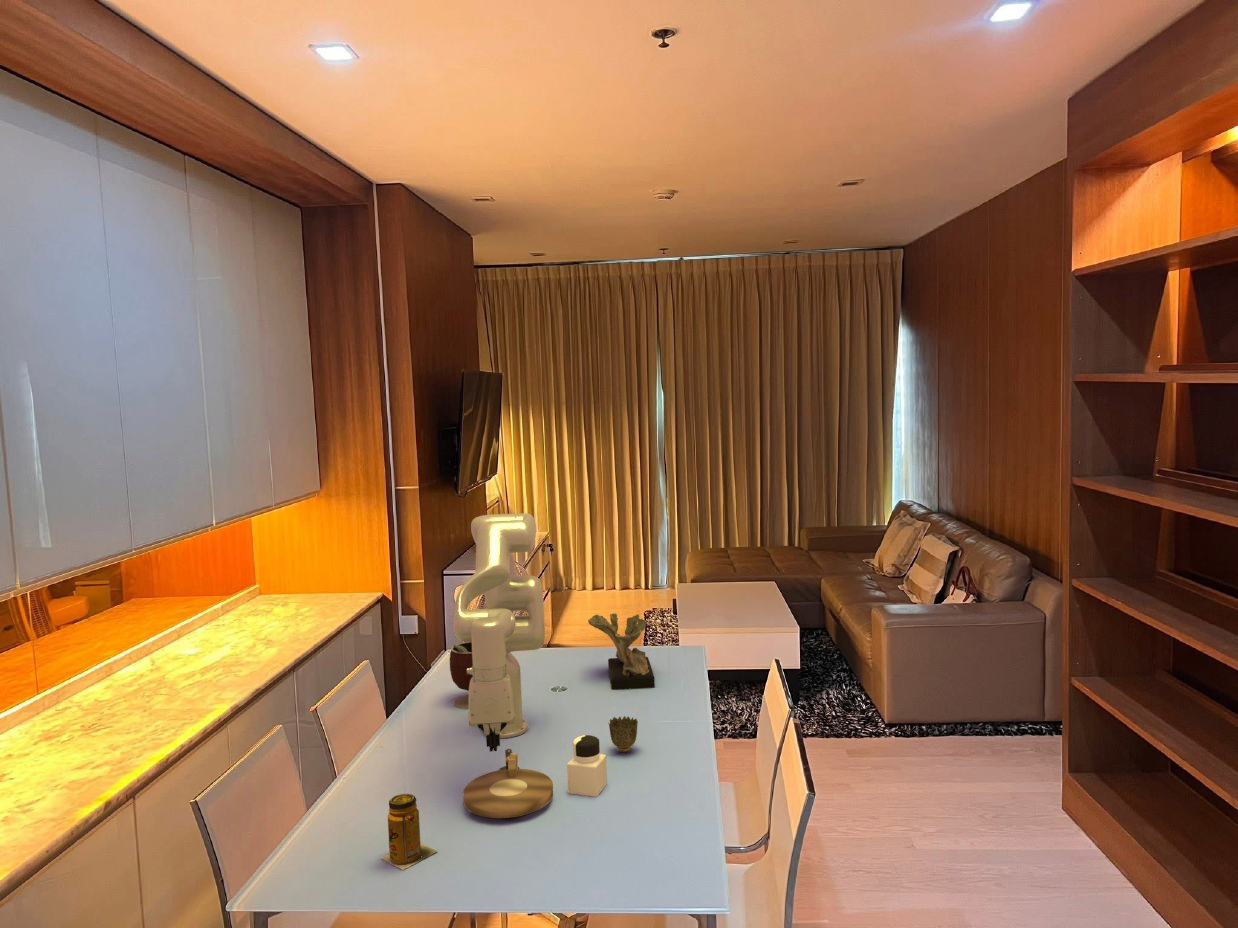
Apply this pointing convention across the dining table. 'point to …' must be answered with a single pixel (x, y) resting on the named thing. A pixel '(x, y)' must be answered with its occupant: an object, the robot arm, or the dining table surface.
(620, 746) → the brown textured pot
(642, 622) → the coral
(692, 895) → the dining table surface
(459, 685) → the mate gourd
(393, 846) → the condiment
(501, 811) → the disc
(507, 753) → the joystick
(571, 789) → the medicine bottle
